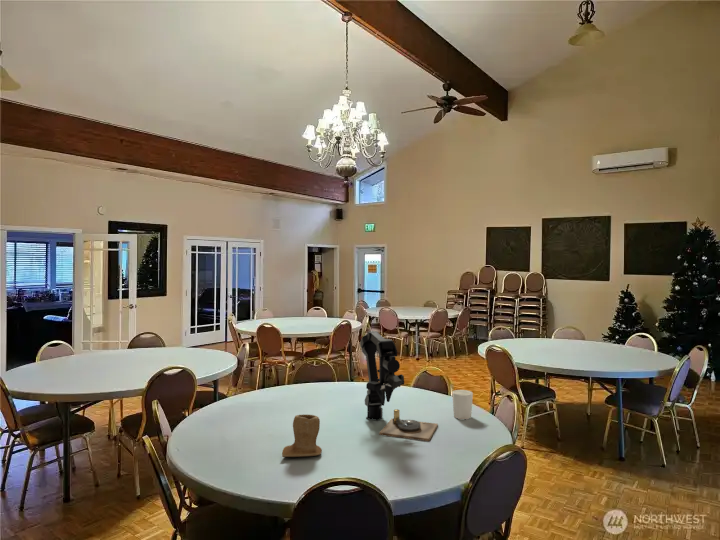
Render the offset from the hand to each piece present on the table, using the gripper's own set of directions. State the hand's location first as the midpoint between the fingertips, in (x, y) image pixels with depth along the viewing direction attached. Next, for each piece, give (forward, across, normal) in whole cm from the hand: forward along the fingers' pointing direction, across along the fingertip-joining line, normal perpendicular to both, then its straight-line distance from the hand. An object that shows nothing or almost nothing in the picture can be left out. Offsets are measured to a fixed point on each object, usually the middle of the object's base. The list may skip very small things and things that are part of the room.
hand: (385, 402), depth 208 cm
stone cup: (+12, -44, +1) cm, 46 cm away
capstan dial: (+11, +7, -6) cm, 14 cm away
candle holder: (+12, +40, -12) cm, 44 cm away
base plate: (+12, +7, -8) cm, 16 cm away
